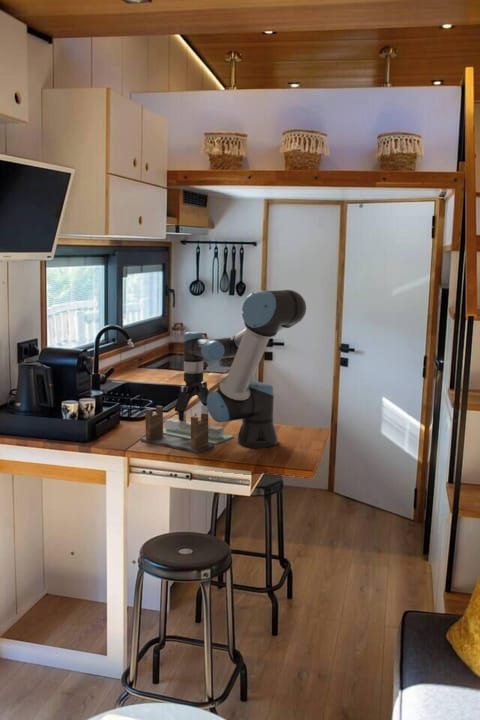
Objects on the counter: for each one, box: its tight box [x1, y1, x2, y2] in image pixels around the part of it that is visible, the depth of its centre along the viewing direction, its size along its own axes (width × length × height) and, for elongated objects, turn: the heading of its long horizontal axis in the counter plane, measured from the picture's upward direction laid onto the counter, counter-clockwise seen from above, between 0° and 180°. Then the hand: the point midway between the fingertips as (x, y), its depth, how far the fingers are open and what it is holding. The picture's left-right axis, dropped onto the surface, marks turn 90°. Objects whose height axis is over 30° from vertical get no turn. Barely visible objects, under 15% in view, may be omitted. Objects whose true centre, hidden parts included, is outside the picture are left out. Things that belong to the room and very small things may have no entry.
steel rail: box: [164, 417, 224, 440], centre depth 272 cm, size 26×4×4 cm, turn 55°
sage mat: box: [163, 427, 235, 445], centre depth 272 cm, size 30×12×1 cm, turn 55°
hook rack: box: [140, 405, 215, 454], centre depth 258 cm, size 28×9×12 cm, turn 55°
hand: (194, 425), depth 272 cm, fingers open, 13 cm apart
